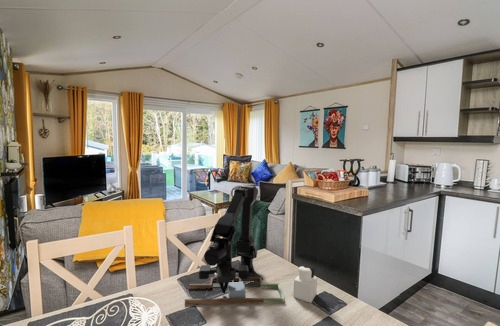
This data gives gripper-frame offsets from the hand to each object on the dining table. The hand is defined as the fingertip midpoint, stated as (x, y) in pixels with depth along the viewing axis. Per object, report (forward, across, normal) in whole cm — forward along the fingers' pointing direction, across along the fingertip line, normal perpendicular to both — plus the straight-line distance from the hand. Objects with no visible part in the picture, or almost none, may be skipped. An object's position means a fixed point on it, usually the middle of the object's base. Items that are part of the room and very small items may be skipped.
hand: (223, 292), depth 101 cm
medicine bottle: (+1, +32, -1) cm, 32 cm away
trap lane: (+1, +4, +3) cm, 5 cm away
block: (+1, +5, 0) cm, 5 cm away
